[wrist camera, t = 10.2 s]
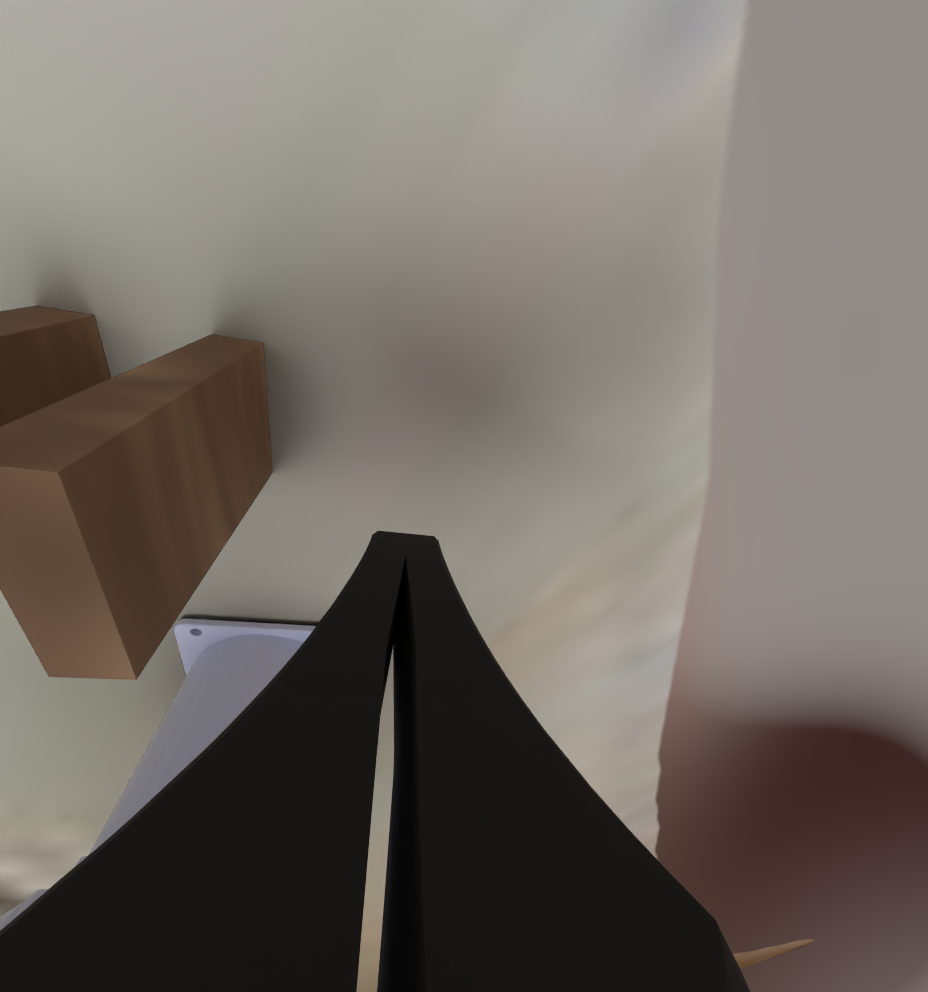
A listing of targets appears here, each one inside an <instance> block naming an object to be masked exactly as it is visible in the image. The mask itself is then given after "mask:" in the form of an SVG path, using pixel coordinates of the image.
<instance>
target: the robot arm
mask: <svg viewBox="0 0 928 992" xmlns="http://www.w3.org/2000/svg"><path fill="white" fill-rule="evenodd" d="M174 633H175V637H176V640H177V644H178V648H179V651H180V655H181V658H182V662H183V666H184V669H185V673H186V678H185V680H184V682H183V684H182V686H181V687H180V689H179V691H178V693H177V695H176V697H175V698H174V700H173V702H172V704H171V706H170V707H169V709H168V711H167V713H166V715H165V717H164V718H163V720H162V722H161V724H160V726H159V728H158V729H157V731H156V733H155V735H154V737H153V739H152V740H151V742H150V744H149V746H148V748H147V749H146V751H145V753H144V755H143V757H142V759H141V760H140V762H139V764H138V766H137V768H136V770H135V771H134V773H133V775H132V777H131V779H130V780H129V782H128V784H127V786H126V788H125V790H124V791H123V793H122V795H121V797H120V799H119V801H118V802H117V804H116V806H115V808H114V810H113V811H112V813H111V815H110V817H109V819H108V821H107V822H106V824H105V826H104V828H103V830H102V832H101V833H100V835H99V837H98V839H97V841H96V843H95V844H94V846H93V848H92V850H91V852H90V853H89V855H88V856H84V857H82V858H80V860H79V861H78V863H77V865H76V867H74V868H73V869H72V870H71V871H70V872H68V873H67V874H66V875H65V876H64V877H63V878H61V879H60V880H59V881H58V882H57V883H56V884H54V885H53V886H52V887H51V888H50V889H49V890H48V889H41V890H37V891H36V892H34V893H33V894H32V895H31V896H30V897H29V898H28V899H27V900H26V901H25V902H23V903H21V904H19V905H18V906H16V907H15V908H13V909H12V910H10V911H9V912H7V913H6V914H4V915H2V916H1V917H0V992H356V989H357V977H358V966H359V954H360V942H361V930H362V918H363V907H364V895H365V883H366V871H367V859H368V848H369V836H370V825H371V813H372V802H373V790H374V779H375V767H376V756H377V745H378V734H379V723H380V714H381V708H382V703H383V697H384V692H385V687H386V681H387V676H388V670H389V665H390V659H391V654H392V648H393V660H394V775H393V789H392V803H391V817H390V831H389V845H388V858H387V871H386V885H385V898H384V911H383V924H382V937H381V950H380V962H379V975H378V988H377V992H750V990H749V988H748V986H747V983H746V981H745V979H744V976H743V974H742V972H741V970H740V968H739V966H738V964H737V962H736V960H735V958H734V956H733V954H732V952H731V950H730V949H729V947H728V945H727V943H726V941H725V938H724V936H723V934H722V932H721V930H720V928H719V926H718V924H717V922H716V920H715V919H714V918H713V917H712V916H711V915H710V914H709V913H708V912H707V911H706V909H704V908H703V907H702V905H700V904H699V902H698V901H697V900H696V899H695V898H693V896H692V895H691V894H690V893H689V892H688V891H687V890H686V889H685V888H684V887H683V886H682V885H681V884H680V883H679V882H678V881H677V880H676V879H675V878H674V877H673V876H672V875H671V874H670V873H669V872H668V871H667V870H666V869H665V868H664V867H663V865H662V864H661V863H660V862H659V861H658V860H657V859H656V858H655V857H654V856H653V855H652V854H651V853H650V852H649V851H648V849H647V848H646V847H645V846H644V845H643V844H642V843H641V842H640V841H639V840H638V839H637V838H636V837H635V836H634V835H633V833H632V832H631V831H630V830H629V829H628V828H627V827H626V826H625V825H624V823H623V822H622V821H621V820H620V819H619V818H618V817H617V816H616V814H615V813H614V812H613V811H612V810H611V809H610V808H609V807H608V805H607V804H606V803H605V802H604V801H603V800H602V799H601V798H600V796H599V795H598V794H597V793H596V792H595V791H594V790H593V789H592V787H591V786H590V785H589V784H588V783H587V781H586V780H585V779H584V778H583V776H582V775H581V774H580V773H579V772H578V770H577V769H576V768H575V767H574V765H573V764H572V763H571V762H570V761H569V759H568V758H567V757H566V756H565V754H564V753H563V752H562V751H561V749H560V748H559V747H558V746H557V745H556V743H555V742H554V741H553V740H552V738H551V737H550V736H549V735H548V734H547V732H546V731H545V730H544V728H543V727H542V726H541V724H540V723H539V722H538V720H537V719H536V718H535V716H534V715H533V714H532V712H531V711H530V709H529V708H528V707H527V705H526V704H525V703H524V701H523V700H522V699H521V697H520V696H519V694H518V693H517V691H516V690H515V688H514V687H513V685H512V684H511V682H510V681H509V680H508V678H507V677H506V675H505V674H504V672H503V671H502V669H501V667H500V666H499V664H498V663H497V661H496V659H495V658H494V656H493V655H492V653H491V651H490V650H489V648H488V646H487V645H486V643H485V641H484V639H483V638H482V636H481V634H480V633H479V631H478V629H477V627H476V625H475V623H474V622H473V620H472V618H471V616H470V614H469V612H468V610H467V608H466V606H465V604H464V602H463V600H462V598H461V596H460V594H459V592H458V590H457V588H456V586H455V584H454V581H453V579H452V577H451V574H450V572H449V570H448V567H447V565H446V562H445V560H444V557H443V554H442V551H441V548H440V545H439V541H438V540H437V539H436V538H435V537H434V536H426V535H416V534H405V533H395V532H385V531H377V532H376V533H374V534H373V535H372V537H371V540H370V543H369V545H368V547H367V549H366V551H365V553H364V555H363V557H362V559H361V561H360V562H359V564H358V566H357V568H356V569H355V571H354V573H353V574H352V576H351V577H350V579H349V581H348V582H347V584H346V585H345V587H344V588H343V590H342V591H341V593H340V594H339V596H338V597H337V599H336V600H335V602H334V603H333V605H332V606H331V607H330V609H329V610H328V611H327V613H326V614H325V615H324V617H323V618H322V619H321V621H320V622H319V623H318V625H317V626H308V625H290V624H272V623H254V622H237V621H219V620H201V619H181V620H179V621H178V622H177V624H176V625H175V627H174Z"/></svg>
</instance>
